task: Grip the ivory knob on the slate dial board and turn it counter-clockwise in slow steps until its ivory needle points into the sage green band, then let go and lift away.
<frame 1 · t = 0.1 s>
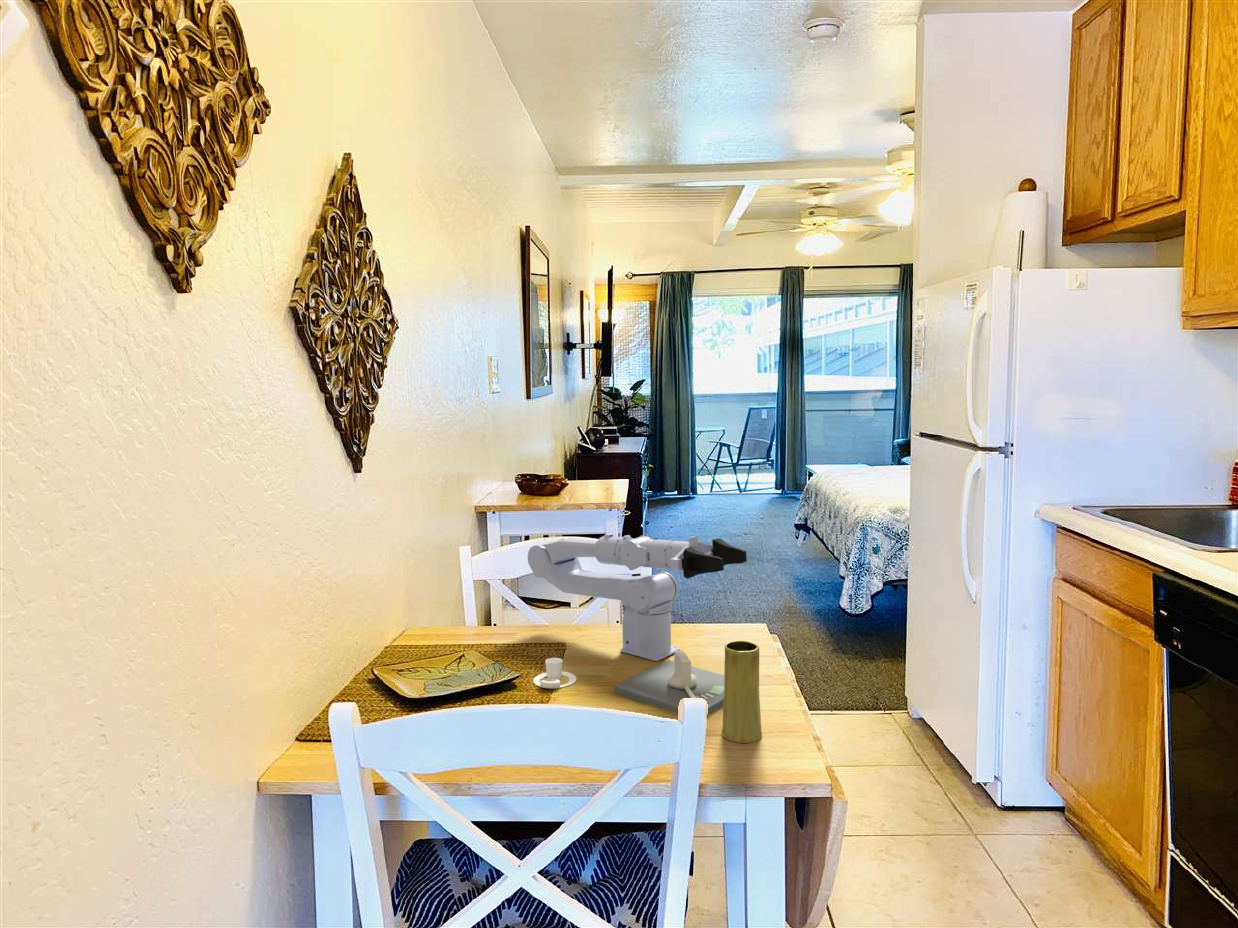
hand: (734, 560, 145), 22 cm above the table, tool horizontal, fingers open, 7 cm apart
vase: (741, 735, 123), on the table
knob: (686, 675, 137), point 4 cm above the table, hinge at -40.0°
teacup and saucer: (538, 685, 145), on the table
dial board: (682, 690, 140), on the table
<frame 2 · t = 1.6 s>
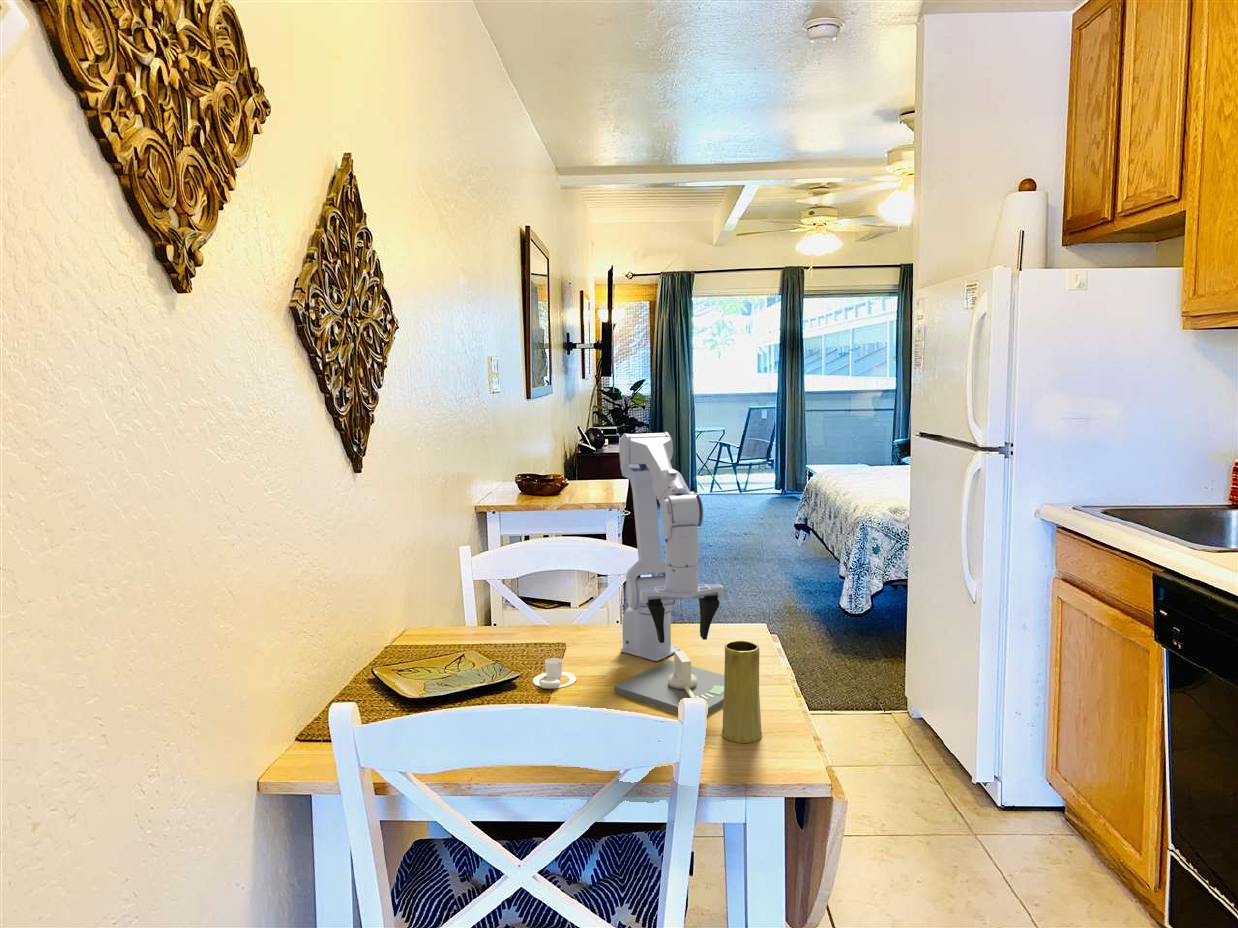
hand: (682, 639, 139), 9 cm above the table, tool pointing down, fingers open, 7 cm apart
nothing on the table moved.
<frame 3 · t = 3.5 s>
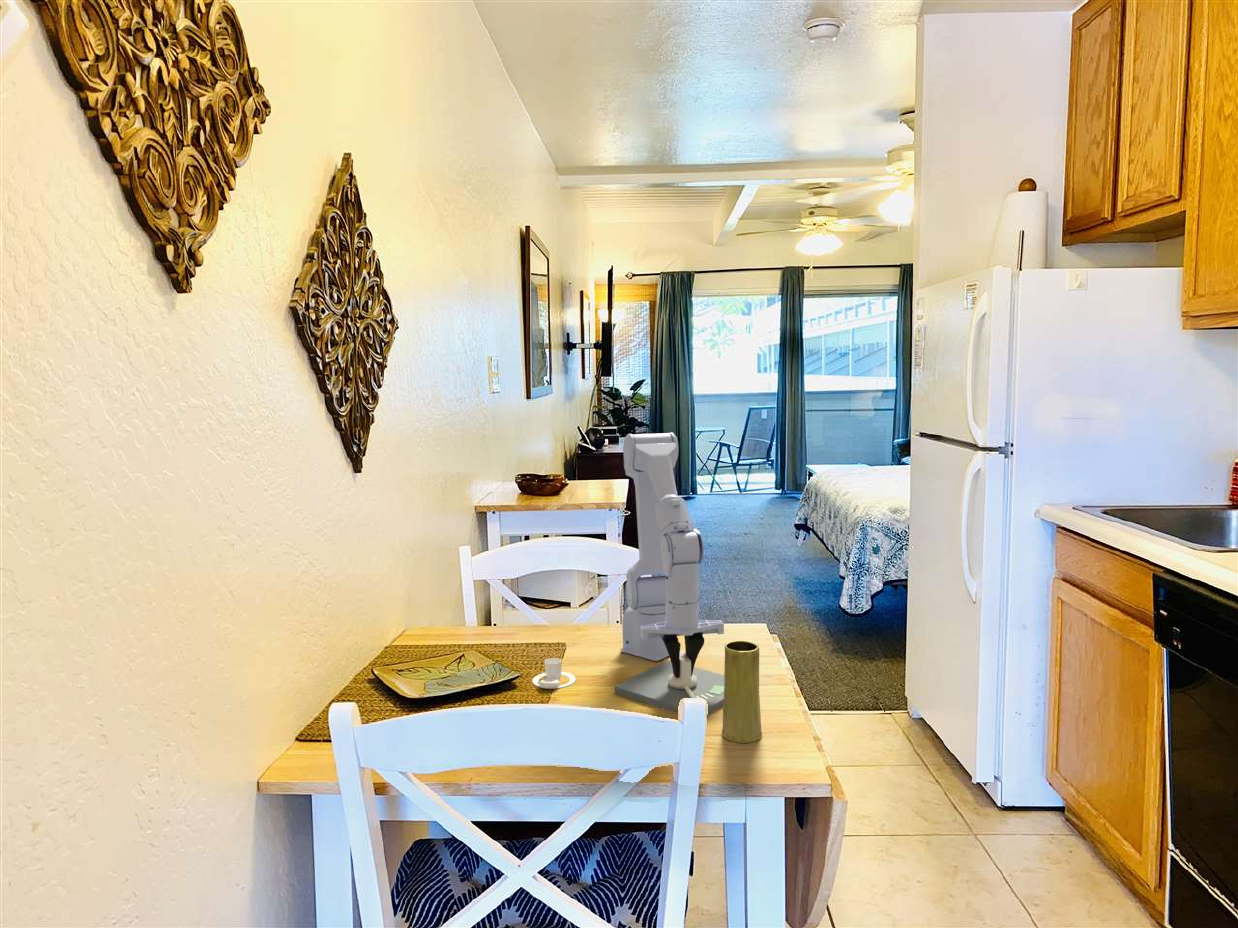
hand: (682, 675, 140), 3 cm above the table, tool pointing down, fingers closed on knob, 2 cm apart
knob: (686, 675, 137), point 4 cm above the table, hinge at -40.0°, touching gripper
everything else where it was.
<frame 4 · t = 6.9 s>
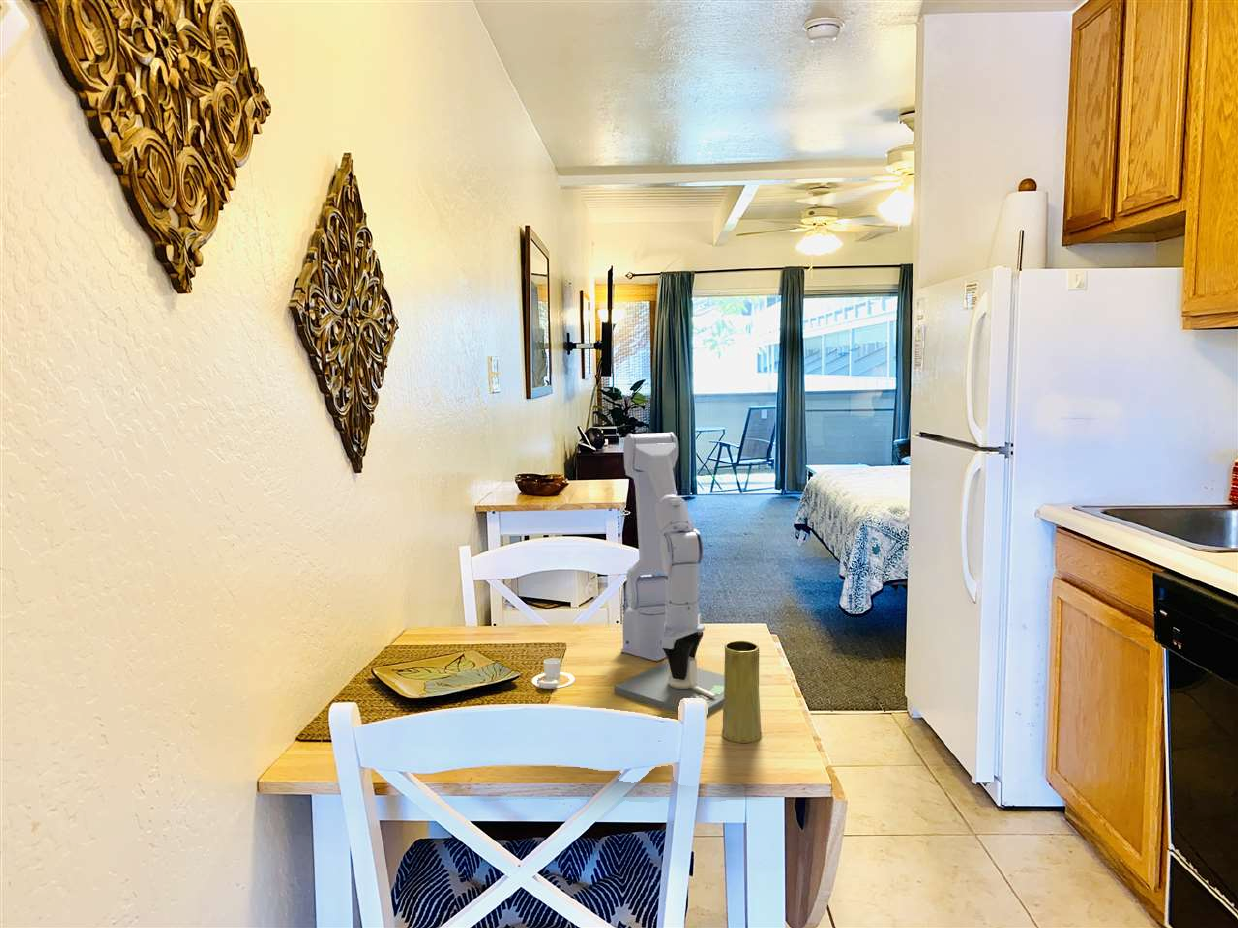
hand: (682, 675, 140), 3 cm above the table, tool pointing down, fingers closed on knob, 3 cm apart
knob: (692, 674, 138), point 4 cm above the table, hinge at -12.8°, touching gripper
everything else where it was.
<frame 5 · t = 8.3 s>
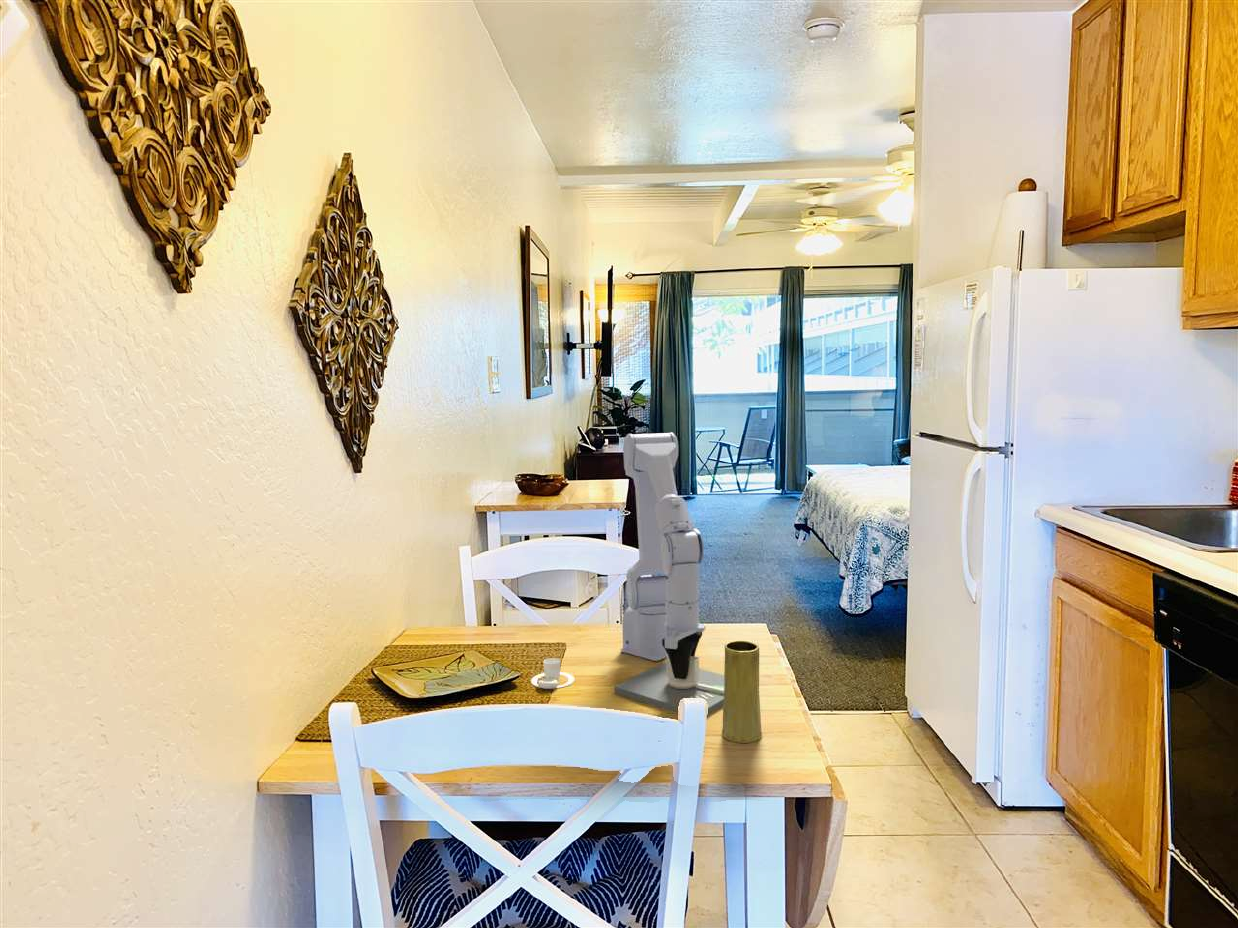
hand: (682, 675, 140), 3 cm above the table, tool pointing down, fingers closed on knob, 2 cm apart
knob: (695, 672, 138), point 4 cm above the table, hinge at 7.5°, touching gripper
everything else where it was.
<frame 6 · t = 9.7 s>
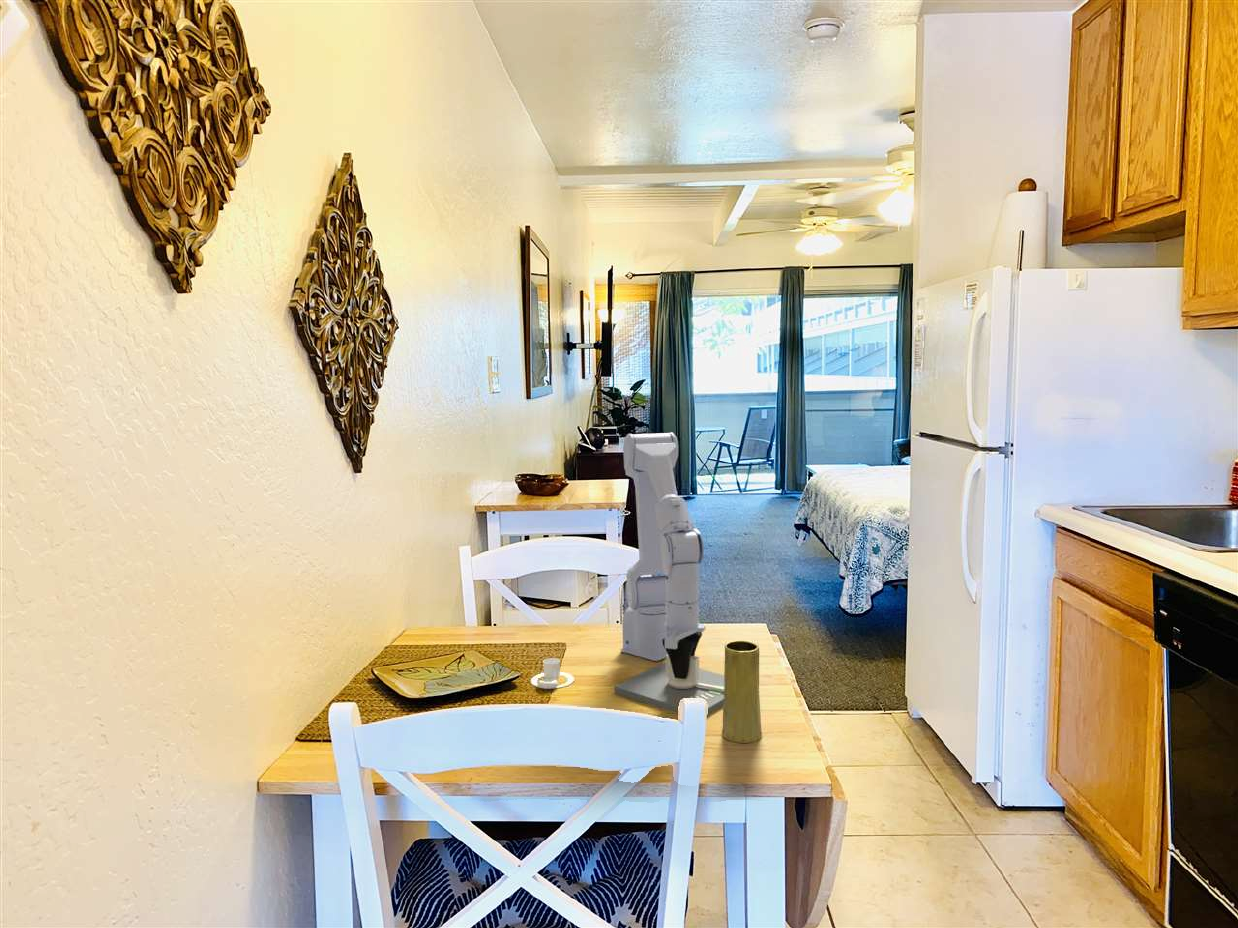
hand: (682, 675, 140), 3 cm above the table, tool pointing down, fingers closed on knob, 2 cm apart
knob: (696, 672, 139), point 4 cm above the table, hinge at 12.2°, touching gripper
everything else where it was.
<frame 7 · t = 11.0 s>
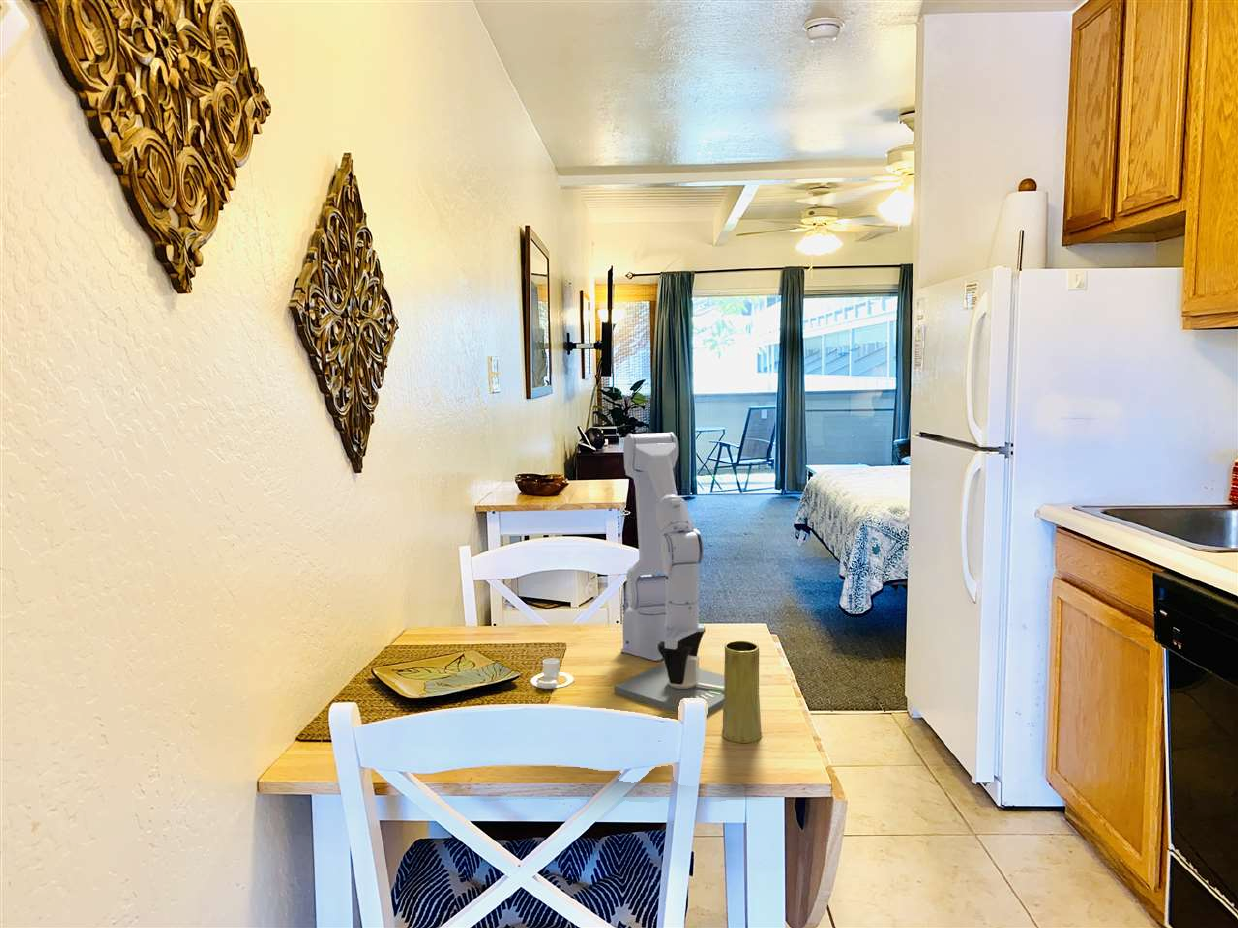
hand: (682, 675, 140), 3 cm above the table, tool pointing down, fingers open, 7 cm apart
knob: (696, 671, 139), point 4 cm above the table, hinge at 13.8°
everything else where it was.
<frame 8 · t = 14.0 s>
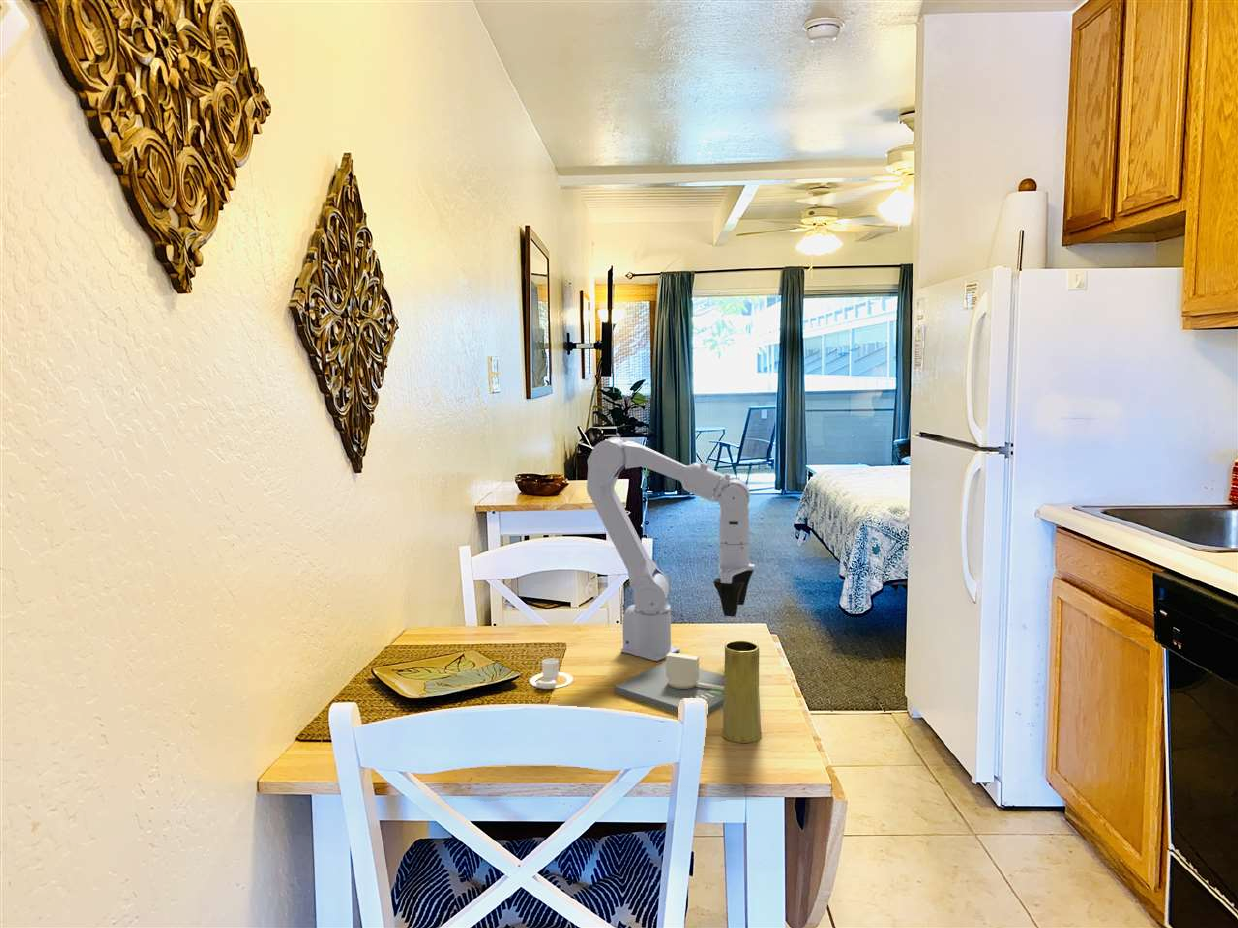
hand: (734, 609, 155), 9 cm above the table, tool pointing down, fingers open, 7 cm apart
knob: (696, 671, 139), point 4 cm above the table, hinge at 15.3°
everything else where it was.
at the end: knob at +15° (first picture: -40°); the gripper is holding nothing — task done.
